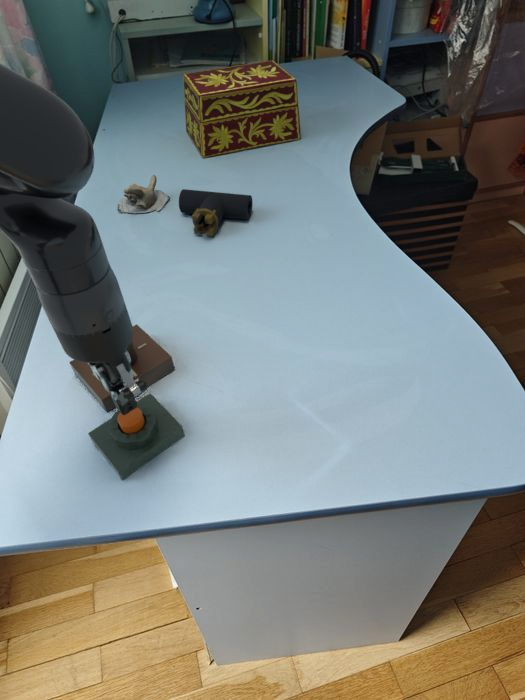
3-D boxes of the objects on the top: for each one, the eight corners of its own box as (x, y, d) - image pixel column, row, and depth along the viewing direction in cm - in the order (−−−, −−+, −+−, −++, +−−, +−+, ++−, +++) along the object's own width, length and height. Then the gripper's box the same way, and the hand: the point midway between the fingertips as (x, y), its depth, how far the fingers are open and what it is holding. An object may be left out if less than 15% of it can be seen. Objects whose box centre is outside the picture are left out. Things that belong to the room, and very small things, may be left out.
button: (128, 438, 63) (125, 430, 62) (116, 423, 65) (112, 415, 63) (149, 424, 64) (146, 416, 63) (136, 410, 66) (133, 402, 65)
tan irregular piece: (174, 198, 113) (170, 173, 110) (150, 218, 105) (145, 191, 101) (136, 195, 116) (131, 170, 112) (110, 214, 107) (103, 188, 104)
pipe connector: (237, 218, 95) (165, 210, 98) (238, 241, 99) (170, 233, 102) (251, 190, 103) (185, 184, 106) (253, 212, 107) (188, 206, 109)
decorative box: (276, 115, 143) (276, 57, 132) (301, 139, 131) (302, 78, 120) (185, 131, 137) (177, 73, 126) (202, 158, 125) (194, 96, 114)
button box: (122, 480, 63) (114, 464, 60) (92, 442, 67) (83, 425, 64) (185, 435, 67) (180, 418, 64) (153, 402, 71) (147, 385, 68)
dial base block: (107, 412, 70) (101, 399, 68) (75, 374, 76) (68, 361, 73) (175, 369, 76) (171, 356, 73) (140, 336, 81) (136, 323, 79)
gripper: (24, 293, 51) (76, 394, 64) (83, 361, 44) (129, 459, 57) (88, 263, 54) (126, 365, 67) (152, 321, 47) (181, 422, 60)
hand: (127, 408), depth 62 cm, fingers closed
